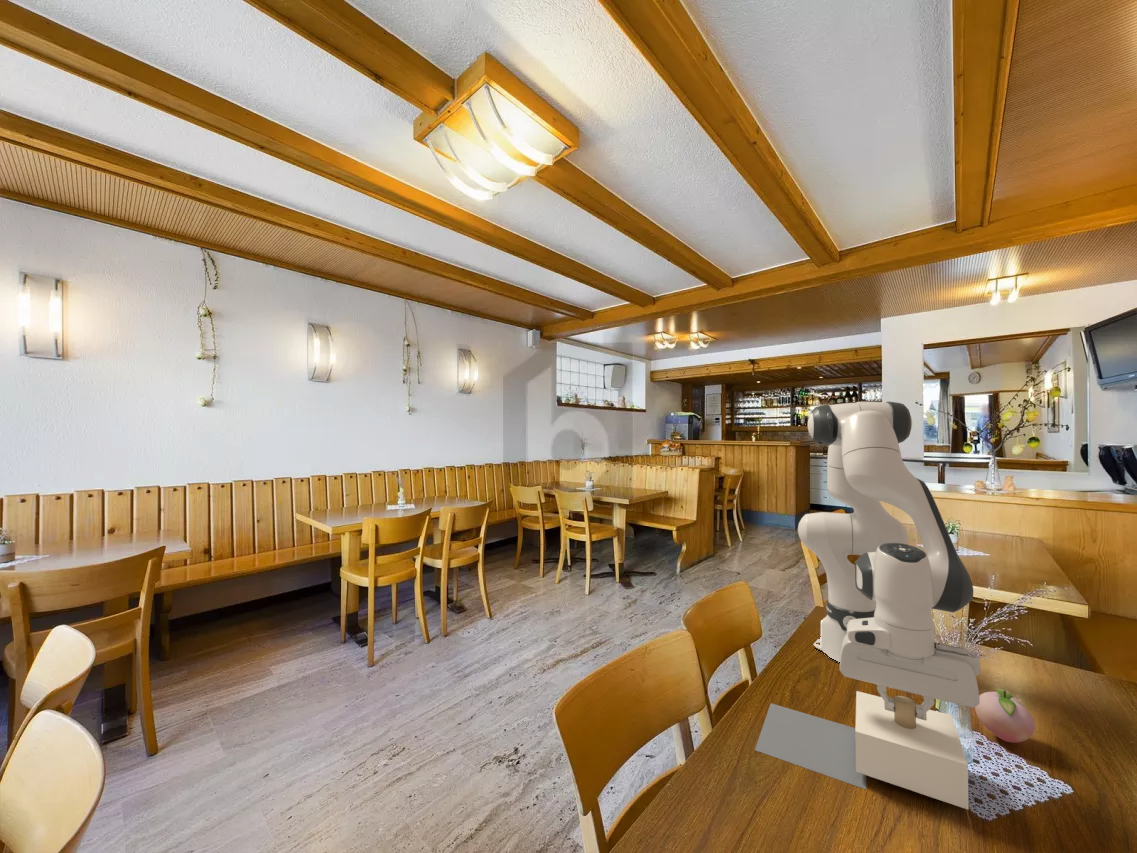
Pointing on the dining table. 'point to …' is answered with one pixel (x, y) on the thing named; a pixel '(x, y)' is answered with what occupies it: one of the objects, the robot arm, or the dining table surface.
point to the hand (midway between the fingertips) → (904, 713)
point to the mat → (811, 744)
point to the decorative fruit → (1005, 716)
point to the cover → (911, 749)
